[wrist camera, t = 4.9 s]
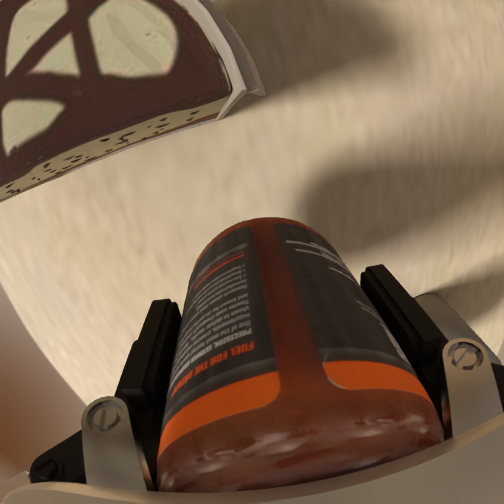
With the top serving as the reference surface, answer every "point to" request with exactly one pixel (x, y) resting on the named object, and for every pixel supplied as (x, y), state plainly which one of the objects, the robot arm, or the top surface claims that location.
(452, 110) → the top surface
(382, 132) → the top surface
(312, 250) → the supplement bottle
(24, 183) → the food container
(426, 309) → the gray cylinder
